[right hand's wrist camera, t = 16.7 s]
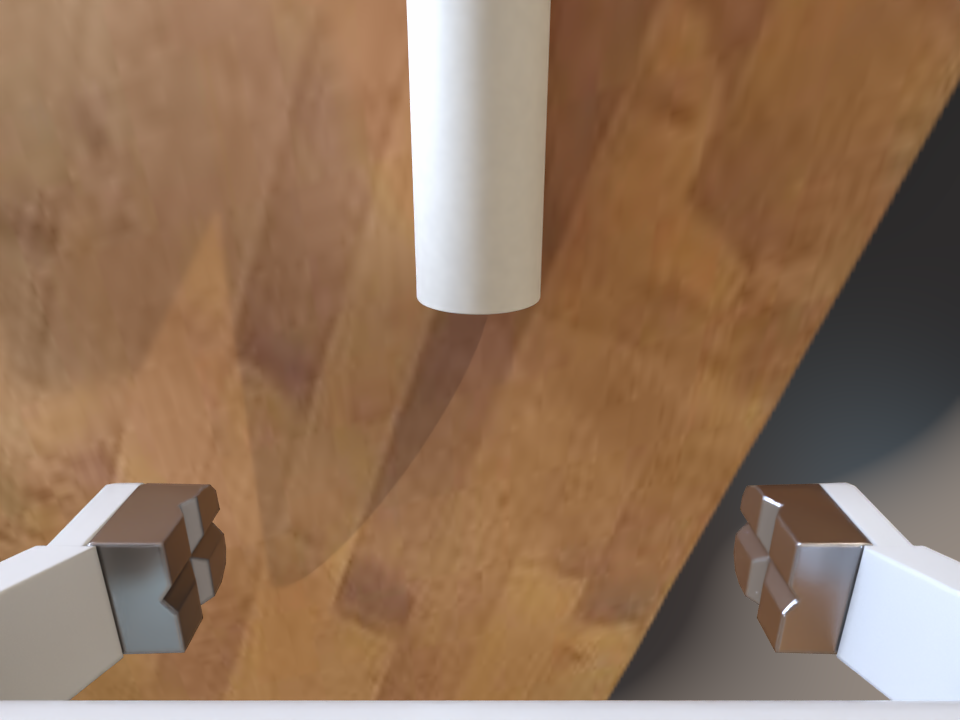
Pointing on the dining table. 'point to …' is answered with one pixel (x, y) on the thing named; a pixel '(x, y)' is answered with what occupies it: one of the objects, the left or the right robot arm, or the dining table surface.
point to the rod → (478, 151)
